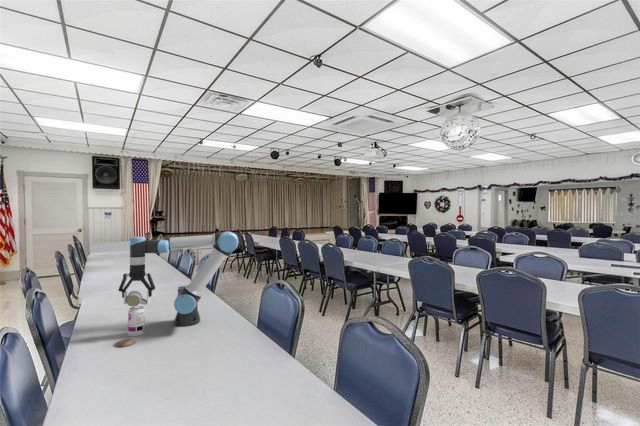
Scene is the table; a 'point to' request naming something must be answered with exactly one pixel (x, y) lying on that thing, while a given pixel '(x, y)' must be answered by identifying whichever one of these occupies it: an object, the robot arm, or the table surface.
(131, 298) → the ceramic mug
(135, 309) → the supplement can
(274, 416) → the table surface
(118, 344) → the walnut coaster
